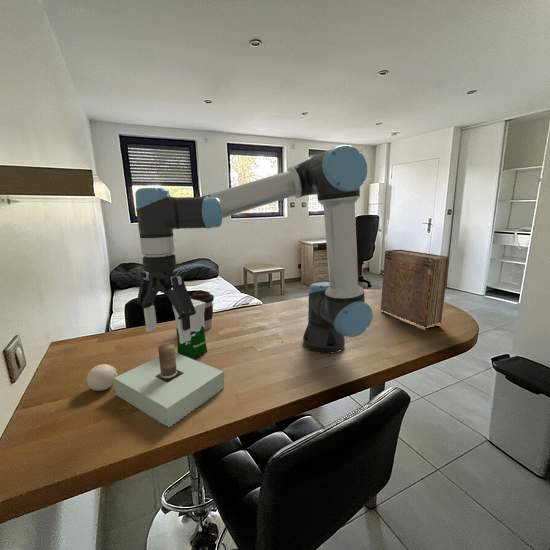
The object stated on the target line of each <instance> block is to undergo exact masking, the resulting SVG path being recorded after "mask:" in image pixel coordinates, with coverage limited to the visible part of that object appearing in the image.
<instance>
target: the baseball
mask: <svg viewBox="0 0 550 550" xmlns="http://www.w3.org/2000/svg"><path fill="white" fill-rule="evenodd" d="M117 376H119V375H118V370H117V369H116V368H115V367H114V366H112V365H110V364H106V363H105V364H98V365H96V366H94V367H92V368H91V369H90V370H89V371H88V373H87V376H86V382H87V385H88V386H89V387H88V388H90V389H91V390H93V391H99V392H101V391H105V390H107V389H109V388H110V387H111V386H113V384H115V383H114V378H115V377H117Z"/></svg>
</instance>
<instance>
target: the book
mask: <svg viewBox="0 0 550 550" xmlns="http://www.w3.org/2000/svg"><path fill="white" fill-rule="evenodd" d="M383 260H384V261H383V274H382V276H383V277H382V286H381V287H382V290H381V299H380V301H381V302H380V311H381V310H383V311H386V312H388V313H391V314H393V315H396V316H398V317H401V318H403V319H406V320H409V321H411V322H414V323H416V324H419V325H421V326H424V327H427V326H429V325H432V324H436V323H439V322H440V323H441V324H442V317H443V310H444V303H445V294H446V288H447V280H448V273H449V265H450V256H447V255H440V254H432V253H426V252H419V251H413V250H406V249H405V250H404V249H392V250H384V259H383Z"/></svg>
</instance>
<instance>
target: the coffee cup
mask: <svg viewBox="0 0 550 550" xmlns="http://www.w3.org/2000/svg"><path fill="white" fill-rule="evenodd" d="M190 296H191V299H193V300H197V301H201V302H205V303H206V304H205V310H204V327H205V331H206V330H209V329H211V328H212V326H213V317H214V313H213V311H214V303H213V301H214V299H215V298H214V297H215V296H214V295H213V294H211V293H210V292H209V291H206V290H201V291H195V292H193V293H192V295H190Z"/></svg>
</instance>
